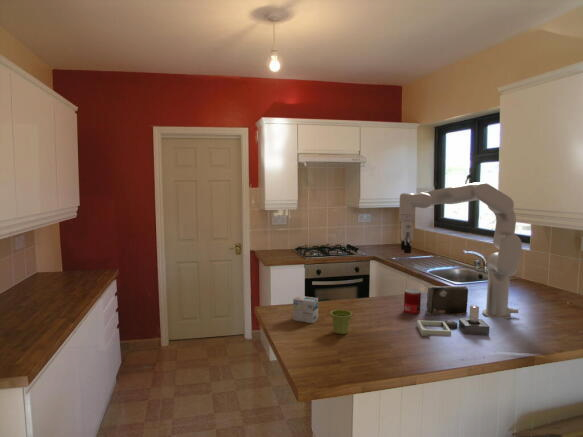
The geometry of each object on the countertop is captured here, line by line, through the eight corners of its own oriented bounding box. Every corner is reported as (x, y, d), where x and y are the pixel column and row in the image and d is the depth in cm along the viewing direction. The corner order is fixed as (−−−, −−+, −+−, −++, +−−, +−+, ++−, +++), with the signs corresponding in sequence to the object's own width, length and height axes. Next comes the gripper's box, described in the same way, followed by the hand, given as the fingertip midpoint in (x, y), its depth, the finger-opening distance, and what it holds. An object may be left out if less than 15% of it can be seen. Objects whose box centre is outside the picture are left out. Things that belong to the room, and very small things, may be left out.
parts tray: (444, 327, 184) (444, 321, 183) (450, 337, 172) (451, 331, 172) (417, 325, 185) (417, 320, 185) (422, 335, 173) (422, 329, 173)
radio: (464, 310, 208) (465, 281, 207) (474, 315, 200) (475, 286, 198) (422, 312, 204) (423, 283, 203) (431, 318, 196) (432, 288, 194)
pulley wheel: (454, 325, 186) (455, 319, 185) (459, 331, 179) (459, 324, 178) (439, 324, 186) (439, 318, 186) (443, 330, 180) (443, 323, 179)
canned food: (420, 314, 200) (421, 293, 199) (404, 313, 202) (405, 292, 201) (419, 309, 208) (420, 289, 207) (403, 308, 209) (404, 288, 208)
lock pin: (476, 329, 178) (477, 305, 177) (479, 332, 174) (480, 308, 173) (467, 329, 178) (468, 305, 177) (470, 332, 175) (471, 308, 174)
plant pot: (326, 329, 180) (326, 311, 179) (344, 326, 184) (344, 308, 183) (336, 337, 172) (337, 317, 171) (355, 334, 175) (355, 314, 175)
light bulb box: (318, 319, 194) (318, 297, 193) (313, 323, 188) (313, 301, 187) (298, 316, 198) (298, 294, 197) (292, 320, 192) (292, 298, 191)
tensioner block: (481, 330, 180) (482, 319, 180) (488, 337, 171) (489, 326, 171) (458, 328, 182) (459, 318, 181) (464, 336, 173) (464, 325, 172)
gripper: (417, 219, 192) (416, 254, 193) (411, 216, 209) (410, 248, 210) (401, 219, 192) (400, 254, 194) (396, 216, 210) (396, 248, 211)
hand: (405, 251), depth 202 cm, fingers open, 9 cm apart
